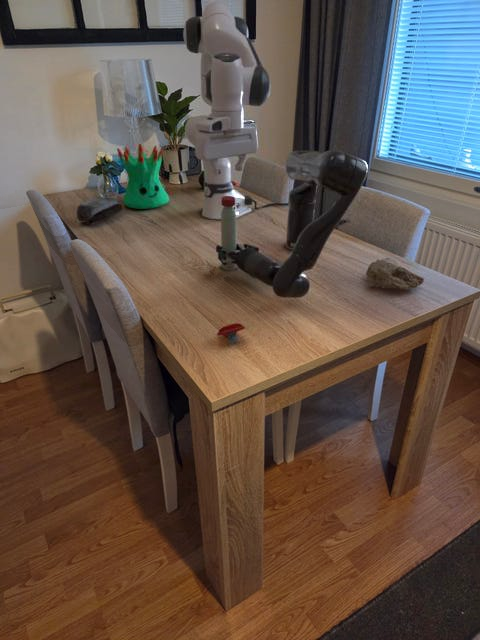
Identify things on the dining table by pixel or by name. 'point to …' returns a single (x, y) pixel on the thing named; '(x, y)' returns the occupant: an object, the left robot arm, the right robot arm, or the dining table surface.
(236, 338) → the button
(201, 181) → the toy
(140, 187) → the toy
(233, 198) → the cap
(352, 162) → the right robot arm
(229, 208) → the bottle
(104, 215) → the rock
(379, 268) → the artifact
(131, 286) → the dining table surface
